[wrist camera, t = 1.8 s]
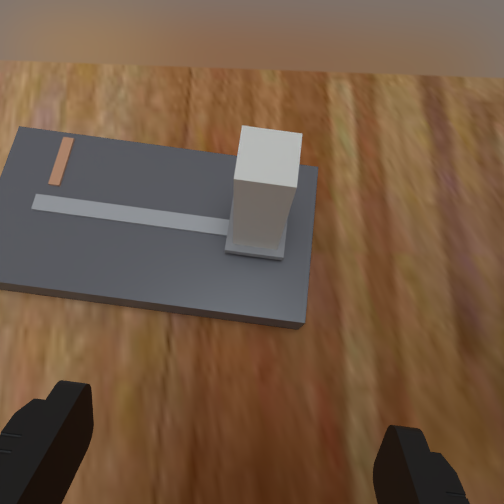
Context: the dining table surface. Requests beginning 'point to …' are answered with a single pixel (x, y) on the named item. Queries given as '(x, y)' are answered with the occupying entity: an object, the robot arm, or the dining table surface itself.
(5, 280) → the console
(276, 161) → the fader tab
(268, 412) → the dining table surface
